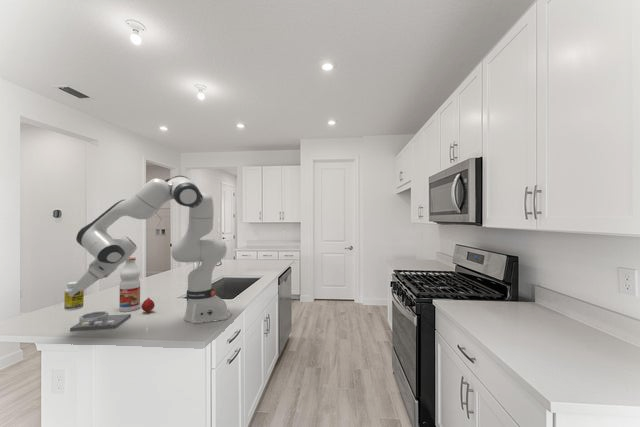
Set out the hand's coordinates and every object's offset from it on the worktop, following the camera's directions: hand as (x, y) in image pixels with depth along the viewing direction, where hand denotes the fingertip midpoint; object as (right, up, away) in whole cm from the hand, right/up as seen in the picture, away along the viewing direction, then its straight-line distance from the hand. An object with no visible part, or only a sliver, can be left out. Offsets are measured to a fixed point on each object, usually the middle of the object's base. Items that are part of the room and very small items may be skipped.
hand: (72, 293), depth 122 cm
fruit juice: (+1, -19, +35) cm, 40 cm away
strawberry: (+14, -19, +30) cm, 38 cm away
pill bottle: (0, -7, 0) cm, 7 cm away
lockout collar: (-2, -17, +14) cm, 22 cm away
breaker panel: (+2, -18, +14) cm, 23 cm away
